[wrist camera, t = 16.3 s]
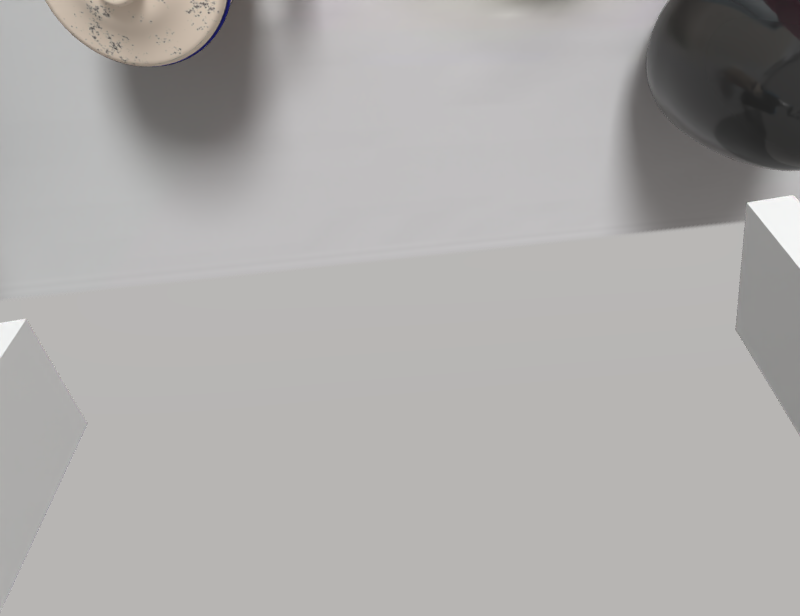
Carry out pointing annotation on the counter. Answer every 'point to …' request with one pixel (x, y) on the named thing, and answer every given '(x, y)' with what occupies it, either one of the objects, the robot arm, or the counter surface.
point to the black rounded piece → (731, 77)
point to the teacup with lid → (143, 27)
